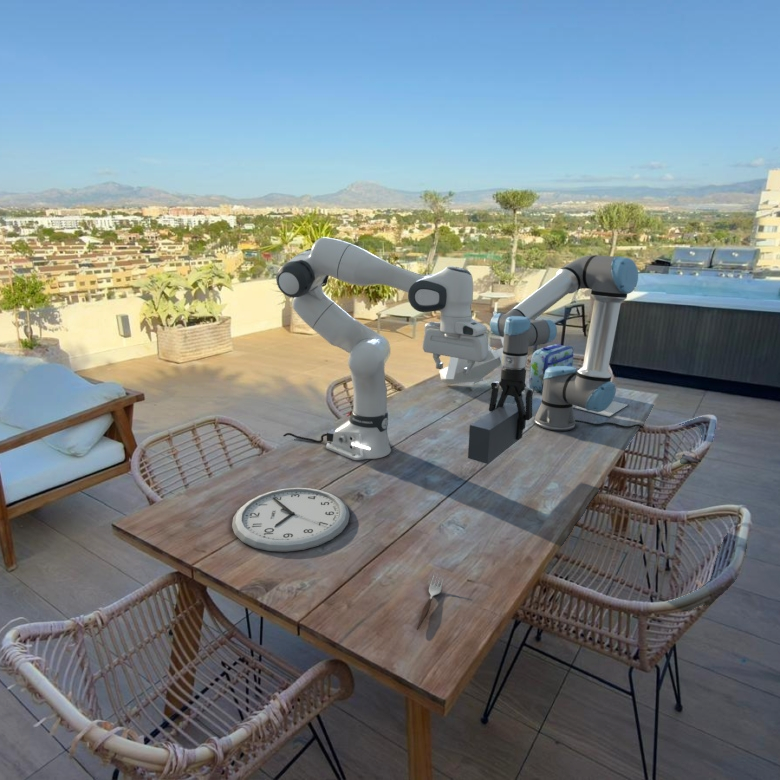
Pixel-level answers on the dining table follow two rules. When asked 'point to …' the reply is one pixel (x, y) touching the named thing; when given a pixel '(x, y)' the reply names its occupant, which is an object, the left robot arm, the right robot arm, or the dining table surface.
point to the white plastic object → (478, 371)
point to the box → (493, 433)
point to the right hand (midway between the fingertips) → (508, 435)
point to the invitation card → (608, 409)
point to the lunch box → (548, 363)
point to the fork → (433, 591)
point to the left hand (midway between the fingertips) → (452, 371)
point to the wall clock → (290, 519)
